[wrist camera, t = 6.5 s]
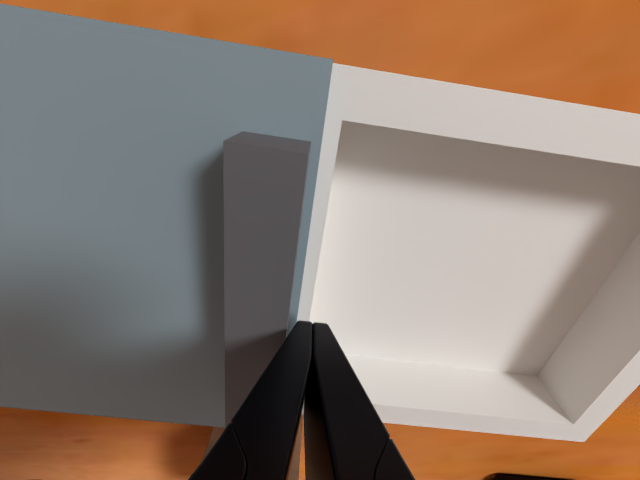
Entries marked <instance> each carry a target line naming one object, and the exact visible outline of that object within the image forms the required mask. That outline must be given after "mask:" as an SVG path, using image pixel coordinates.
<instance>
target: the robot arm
mask: <svg viewBox="0 0 640 480" xmlns="http://www.w3.org/2000/svg"><path fill="white" fill-rule="evenodd" d="M303 403H304V441H305V476H306V480H415V478H414V477H413V475H412V473H411V472H410V470H409V468H408V467H407V465H406V463H405V461H404V460H403V458H402V456H401V454H400V453H399V451H398V449H397V447H396V445H395V444H394V442H393V440H392V439H389V437H390V435H389V433H388V431H387V429H386V428H385V426H384V424H383V422H382V420H381V419H380V417H379V415H378V413H377V411H376V410H375V408H374V406H373V404H372V402H371V401H370V399H369V397H368V395H367V393H366V392H365V390H364V388H363V386H362V384H361V383H360V381H359V379H358V377H357V375H356V374H355V372H354V370H353V368H352V366H351V365H350V363H349V361H348V359H347V357H346V356H345V354H344V352H343V350H342V348H341V347H340V345H339V343H338V341H337V339H336V338H335V336H334V334H333V332H332V330H331V329H330V327H329V325H328V324H327V323H320V322H314V323H313V324H312V322H310V321H302V320H299V321H297V322H296V324H295V325H294V327H293V328H292V330H291V331H290V333H289V334H288V336H287V337H286V339H285V340H284V342H283V343H282V345H281V346H280V348H279V349H278V351H277V352H276V354H275V355H274V357H273V358H272V360H271V361H270V363H269V364H268V366H267V367H266V369H265V370H264V372H263V373H262V375H261V376H260V378H259V379H258V381H257V382H256V384H255V385H254V387H253V388H252V390H251V391H250V393H249V394H248V396H247V397H246V399H245V400H244V402H243V403H242V405H241V406H240V408H239V409H238V410H237V412H236V413H235V415H234V416H233V418H232V419H231V423H229V424H228V425H227V427H226V428H225V430H224V431H223V433H222V434H221V436H220V437H219V439H218V440H217V441H216V443H215V444H214V446H213V447H212V448H211V450H210V451H209V453H208V454H207V455H206V457H205V458H204V460H203V461H202V462H201V464H200V465H199V466H198V468H197V469H196V470H195V472H194V473H193V474H192V475H191V477H190V478H189V479H188V480H288V478H289V473H290V469H291V464H292V459H293V454H294V449H295V444H296V439H297V434H298V429H299V424H300V419H301V414H302V409H303ZM494 480H551V479H539V478H528V477H517V476H506V475H502V476H498V477H496V478H495V479H494Z"/></svg>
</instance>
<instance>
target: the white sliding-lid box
mask: <svg viewBox="0 0 640 480" xmlns="http://www.w3.org/2000/svg"><path fill="white" fill-rule="evenodd" d="M299 320H302V321H310V322H312V324H313V323H314V322H320V323H327V324H328V325H329V327H330V329H331V330H332V332H333V334H334V336H335V338H336V339H337V341H338V343H339V345H340V347H341V348H342V350H343V352H344V354H345V356H346V357H347V359H348V361H349V363H350V365H351V366H352V368H353V370H354V372H355V374H356V375H357V377H358V379H359V381H360V383H361V384H362V386H363V388H364V390H365V392H366V393H367V395H368V397H369V399H370V401H371V402H372V404H373V406H374V408H375V410H376V411H377V413H378V415H379V417H380V419H381V420H382V422H383V423H393V424H403V425H413V426H423V427H434V428H444V429H454V430H464V431H475V432H485V433H495V434H506V435H516V436H526V437H536V438H547V439H557V440H567V441H578V442H585V441H586V439H587V438H588V437H589V436H590V435H591V434H592V433H593V432H594V431H595V430H596V429H597V428H598V427H599V426H600V425H601V424H602V423H603V422H604V421H605V420H606V419H607V418H608V417H609V416H610V415H611V414H612V412H613V411H614V410H615V409H616V408H617V407H618V406H619V405H620V404H621V403H622V402H623V401H624V400H625V399H626V398H627V397H628V396H629V395H630V394H631V393H632V392H633V391H634V390H635V389H636V388H637V386H638V385H639V384H640V114H635V113H629V112H623V111H617V110H611V109H605V108H599V107H593V106H587V105H581V104H575V103H569V102H563V101H557V100H551V99H545V98H539V97H533V96H527V95H521V94H515V93H509V92H503V91H497V90H491V89H485V88H479V87H473V86H467V85H461V84H455V83H449V82H443V81H437V80H431V79H425V78H419V77H413V76H407V75H401V74H395V73H389V72H383V71H377V70H371V69H365V68H359V67H353V66H347V65H341V64H335V63H333V66H332V73H331V80H330V87H329V94H328V101H327V109H326V116H325V123H324V130H323V137H322V144H321V151H320V159H319V166H318V173H317V180H316V187H315V194H314V201H313V208H312V216H311V223H310V230H309V237H308V244H307V251H306V258H305V266H304V273H303V280H302V287H301V294H300V301H299V308H298V315H297V321H299ZM301 415H304V403H303V409H302V414H301Z"/></svg>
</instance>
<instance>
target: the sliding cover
mask: <svg viewBox="0 0 640 480" xmlns="http://www.w3.org/2000/svg"><path fill="white" fill-rule="evenodd" d="M332 66H333V59H328V58H322V57H316V56H310V55H304V54H298V53H292V52H286V51H280V50H274V49H268V48H262V47H256V46H250V45H244V44H238V43H232V42H226V41H220V40H214V39H208V38H202V37H197V36H191V35H185V34H179V33H173V32H167V31H161V30H155V29H149V28H143V27H137V26H131V25H125V24H119V23H113V22H107V21H101V20H95V19H89V18H83V17H77V16H71V15H65V14H59V13H53V12H47V11H41V10H35V9H29V8H24V7H18V6H12V5H6V4H0V407H9V408H19V409H30V410H41V411H51V412H62V413H73V414H84V415H94V416H105V417H116V418H126V419H137V420H148V421H159V422H169V423H180V424H191V425H201V426H212V427H223V428H226V427H227V425H228V424H229V423H231V419H232V418H233V416H234V415H235V413H236V412H237V410H238V409H239V408H240V406H241V405H242V403H243V402H244V400H245V399H246V397H247V396H248V394H249V393H250V391H251V390H252V388H253V387H254V385H255V384H256V382H257V381H258V379H259V378H260V376H261V375H262V373H263V372H264V370H265V369H266V367H267V366H268V364H269V363H270V361H271V360H272V358H273V357H274V355H275V354H276V352H277V351H278V349H279V348H280V346H281V345H282V343H283V342H284V340H285V339H286V337H287V336H288V334H289V333H290V331H291V330H292V328H293V327H294V325H295V324H296V322H297V315H298V308H299V301H300V294H301V287H302V280H303V273H304V266H305V258H306V251H307V244H308V237H309V230H310V223H311V216H312V208H313V201H314V194H315V187H316V180H317V173H318V166H319V159H320V151H321V144H322V137H323V130H324V123H325V116H326V109H327V101H328V94H329V87H330V80H331V73H332Z"/></svg>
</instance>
